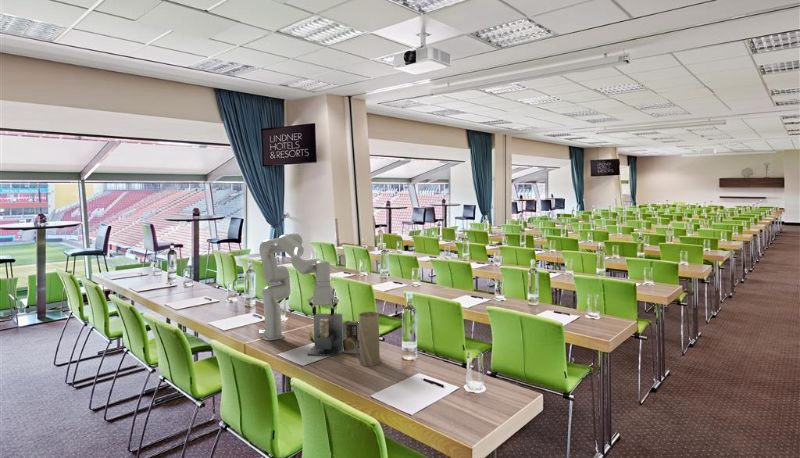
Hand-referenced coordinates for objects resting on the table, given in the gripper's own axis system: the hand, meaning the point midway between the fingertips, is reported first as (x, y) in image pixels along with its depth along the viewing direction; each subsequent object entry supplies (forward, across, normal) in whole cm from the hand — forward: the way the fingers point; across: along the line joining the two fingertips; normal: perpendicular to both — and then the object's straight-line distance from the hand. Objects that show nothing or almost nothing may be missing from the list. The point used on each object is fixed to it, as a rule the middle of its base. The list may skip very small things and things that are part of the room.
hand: (323, 314), depth 259 cm
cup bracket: (+21, +1, +2) cm, 21 cm away
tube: (+20, +28, -14) cm, 37 cm away
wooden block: (+17, +1, 0) cm, 17 cm away
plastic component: (+21, -4, +23) cm, 32 cm away
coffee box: (+21, +16, +2) cm, 26 cm away
